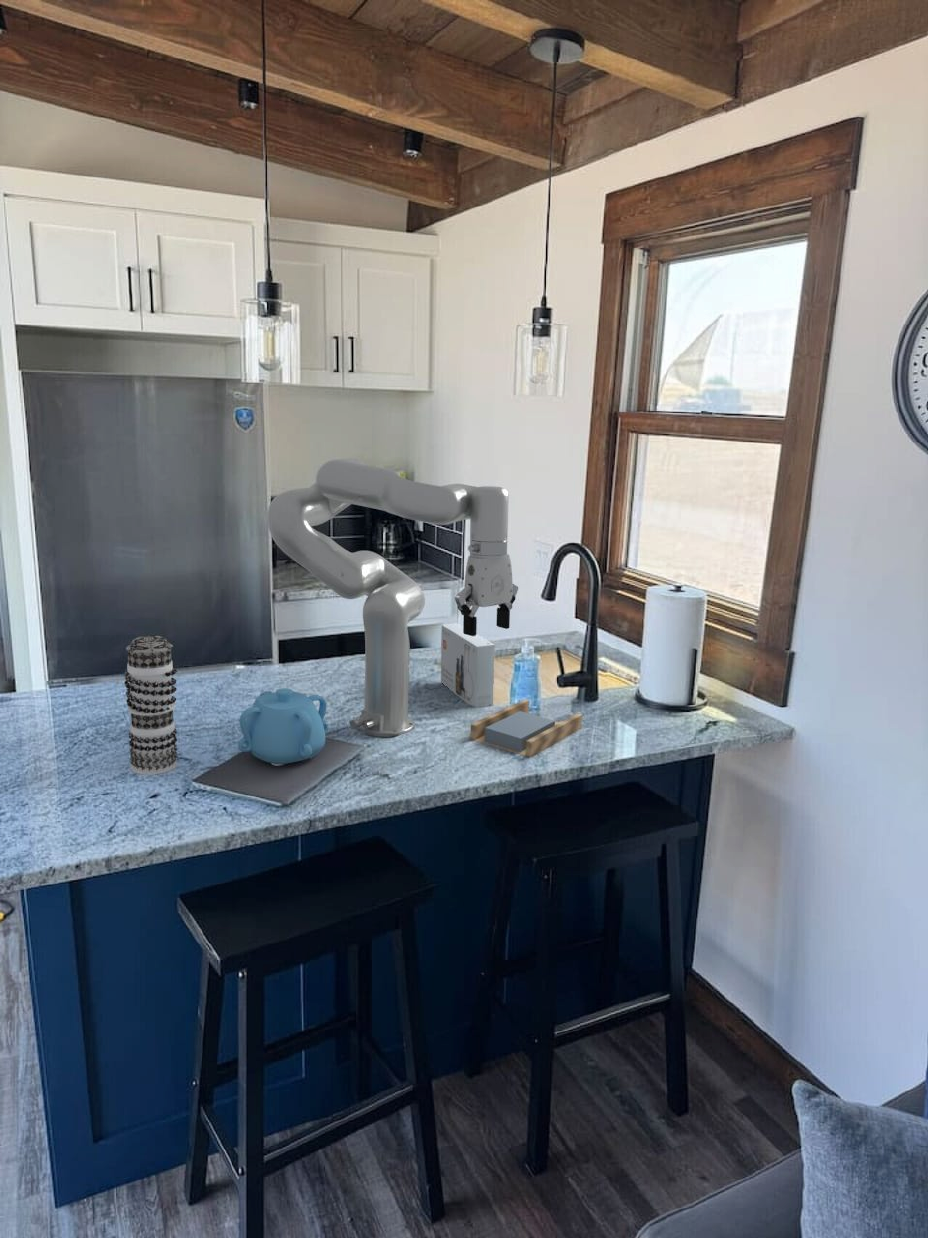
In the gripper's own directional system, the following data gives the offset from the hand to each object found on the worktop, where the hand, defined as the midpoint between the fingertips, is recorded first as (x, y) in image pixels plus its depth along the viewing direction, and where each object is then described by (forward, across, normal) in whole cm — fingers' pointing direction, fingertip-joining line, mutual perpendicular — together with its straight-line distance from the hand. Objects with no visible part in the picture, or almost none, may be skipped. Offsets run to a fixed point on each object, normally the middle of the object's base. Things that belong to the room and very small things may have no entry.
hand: (486, 631), depth 174 cm
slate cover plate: (+24, +8, -3) cm, 26 cm away
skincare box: (+24, +19, +25) cm, 40 cm away
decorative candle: (+23, -58, +30) cm, 70 cm away
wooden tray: (+25, +11, -3) cm, 27 cm away
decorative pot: (+24, -36, +20) cm, 48 cm away
